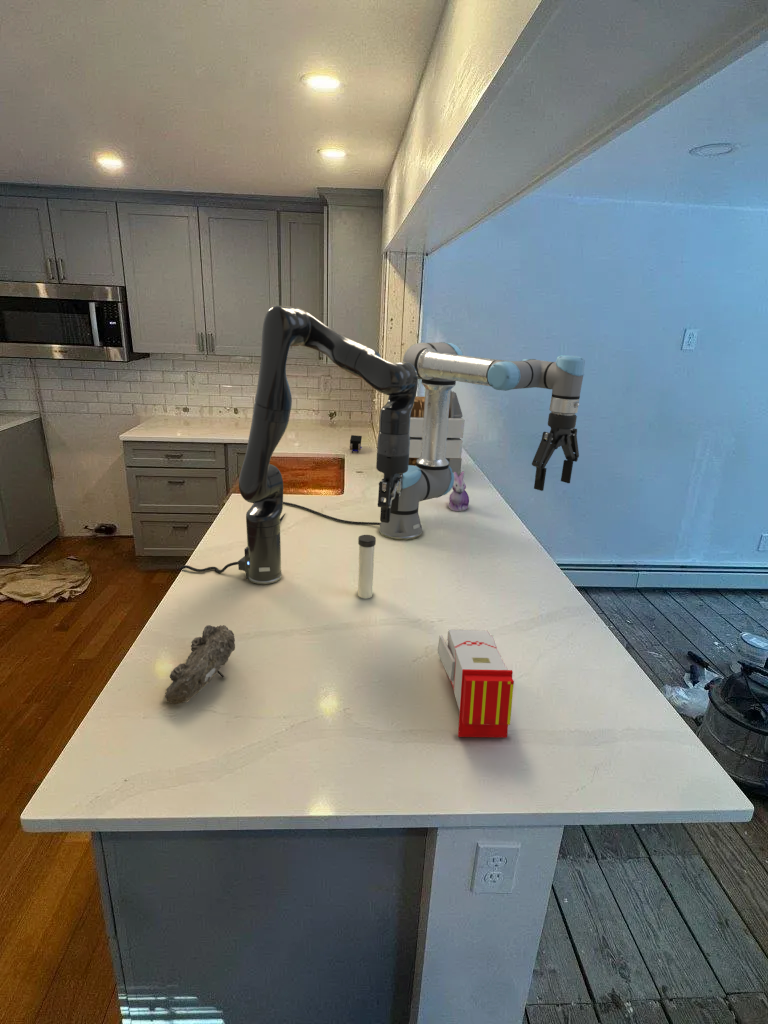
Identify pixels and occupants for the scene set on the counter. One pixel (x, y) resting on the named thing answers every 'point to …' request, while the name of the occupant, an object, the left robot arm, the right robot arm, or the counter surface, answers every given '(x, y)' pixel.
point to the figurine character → (355, 443)
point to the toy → (478, 682)
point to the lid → (366, 540)
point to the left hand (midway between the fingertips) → (389, 516)
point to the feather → (281, 518)
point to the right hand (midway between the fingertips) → (552, 485)
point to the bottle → (365, 571)
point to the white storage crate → (453, 432)
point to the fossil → (201, 663)
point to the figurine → (458, 494)
